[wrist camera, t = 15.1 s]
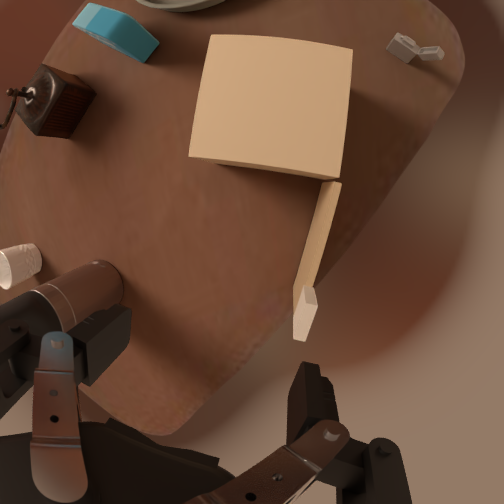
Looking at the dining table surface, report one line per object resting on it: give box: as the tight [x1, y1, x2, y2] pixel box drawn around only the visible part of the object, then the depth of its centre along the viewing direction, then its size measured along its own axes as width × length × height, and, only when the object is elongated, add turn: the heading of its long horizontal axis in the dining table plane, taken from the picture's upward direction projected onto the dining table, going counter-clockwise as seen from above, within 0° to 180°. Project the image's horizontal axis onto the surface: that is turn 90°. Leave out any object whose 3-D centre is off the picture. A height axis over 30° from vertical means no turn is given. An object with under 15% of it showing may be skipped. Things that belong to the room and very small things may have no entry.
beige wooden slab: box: [293, 181, 342, 342], centre depth 34 cm, size 1×16×17 cm, turn 167°
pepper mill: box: [0, 64, 96, 139], centre depth 34 cm, size 16×11×18 cm
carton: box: [188, 35, 353, 180], centre depth 33 cm, size 15×16×12 cm
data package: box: [73, 3, 159, 63], centre depth 32 cm, size 12×4×12 cm, turn 53°
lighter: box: [386, 33, 445, 64], centre depth 30 cm, size 7×2×8 cm, turn 59°
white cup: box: [0, 243, 42, 289], centre depth 45 cm, size 8×8×10 cm
